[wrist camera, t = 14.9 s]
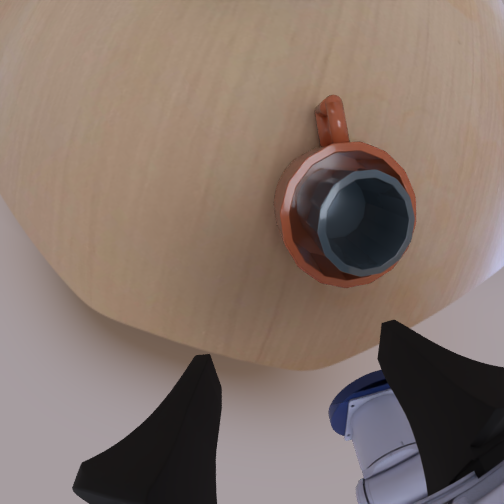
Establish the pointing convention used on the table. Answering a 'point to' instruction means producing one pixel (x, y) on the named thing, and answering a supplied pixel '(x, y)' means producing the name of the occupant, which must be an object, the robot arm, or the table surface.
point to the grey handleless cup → (357, 218)
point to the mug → (327, 156)
